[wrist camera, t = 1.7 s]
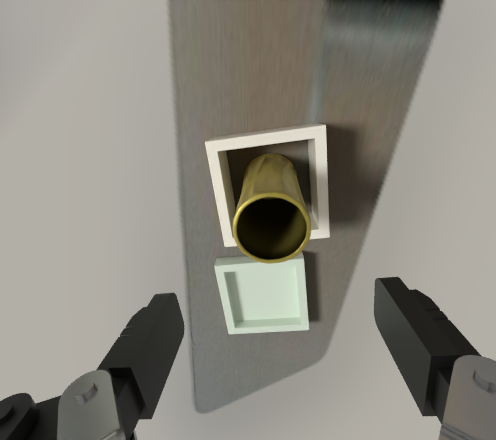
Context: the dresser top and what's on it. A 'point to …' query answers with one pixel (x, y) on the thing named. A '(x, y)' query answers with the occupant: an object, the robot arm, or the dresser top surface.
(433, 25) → the dresser top surface
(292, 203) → the vase
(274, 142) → the sleeve
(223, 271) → the tray
